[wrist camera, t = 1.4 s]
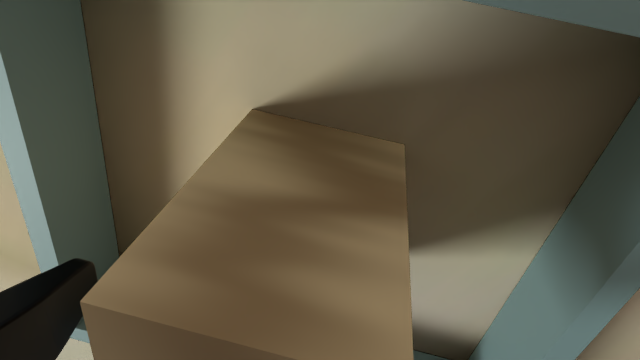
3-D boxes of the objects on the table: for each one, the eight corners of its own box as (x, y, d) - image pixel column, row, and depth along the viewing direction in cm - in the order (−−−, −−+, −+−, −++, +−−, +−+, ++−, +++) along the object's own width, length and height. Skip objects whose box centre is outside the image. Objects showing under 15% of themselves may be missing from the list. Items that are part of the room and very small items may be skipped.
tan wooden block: (404, 144, 12) (414, 390, 5) (367, 258, 15) (342, 519, 8) (252, 108, 12) (79, 301, 6) (242, 227, 15) (117, 454, 8)
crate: (737, 7, 9) (872, 31, 6) (476, 378, 17) (490, 452, 15) (31, -137, 10) (-95, -166, 7) (107, 281, 18) (60, 335, 16)
